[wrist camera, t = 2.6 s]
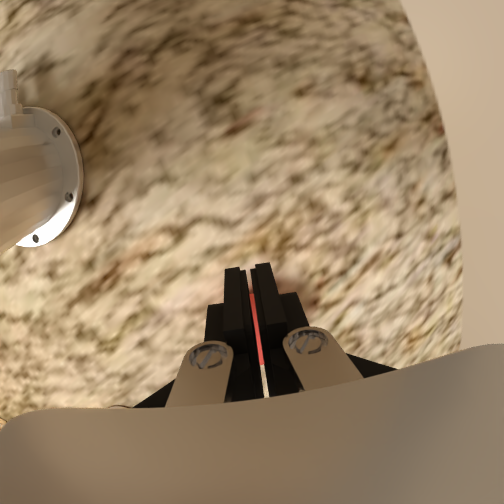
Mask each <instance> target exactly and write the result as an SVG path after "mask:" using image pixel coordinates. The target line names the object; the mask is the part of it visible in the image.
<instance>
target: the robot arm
mask: <svg viewBox="0 0 504 504" xmlns="http://www.w3.org/2000/svg"><path fill="white" fill-rule="evenodd" d="M17 90H18V88H17V71H16V70H7V71H3V72H1V73H0V255H1V254H3V253H4V252H5V251H7V250H8V249H10V248H11V247H12V246H14V245H15V244H16V245H18V246H23V247H38V246H42V245H45V244H47V243H49V242H50V241H52V240H54V239H55V238H57V237H58V236H59V235H60V234H62V233H63V232H64V230H65V229H66V228H67V227H68V226H69V225H70V223H71V221H72V220H73V218H74V216H75V214H76V212H77V209H78V207H79V204H80V201H81V196H82V190H83V176H84V172H83V163H82V157H81V153H80V149H79V146H78V143H77V141H76V139H75V137H74V135H73V133H72V131H71V130H70V128H69V127H68V126H67V124H66V123H65V122H64V121H63V120H62V119H61V118H60V117H59V116H58V115H56V114H55V113H53V112H51V111H49V110H47V109H43V108H39V107H22V104H20V103H18V101H17ZM60 130H61V133H59V131H60ZM72 194H73V197H72ZM255 267H256V268H254V269H250V272H251V279H252V286H253V293H254V300H255V307H256V314H257V321H258V327H259V334H260V340H261V347H262V353H263V360H264V366H265V372H266V379H267V385H268V391H269V398H264V393H263V385H262V377H261V370H260V362H259V354H258V347H257V339H256V332H255V326H254V319H253V313H252V307H251V301H250V295H249V288H248V282H247V276H246V270H241V271H240V268H239V267H235V268H228V269H225V279H224V303H220V304H212V305H208V309H207V318H206V328H205V338H204V342H203V343H199V344H197V345H195V346H193V347H192V348H191V349H190V350H188V351H187V353H186V354H185V356H184V358H183V361H182V364H181V366H180V369H179V371H178V374H177V377H176V379H174V380H173V381H171V382H170V383H169V384H167V385H166V386H164V387H163V388H161V389H160V390H158V391H157V392H155V393H154V394H152V395H151V396H149V397H148V398H146V399H145V400H143V401H142V402H140V403H139V404H137V405H136V406H134V407H133V408H48V409H41V410H35V411H31V412H27V413H24V414H21V415H18V416H16V417H14V418H12V419H11V420H9V421H8V422H7V423H6V424H5V425H4V426H3V427H2V429H1V430H0V504H504V344H488V345H482V346H476V347H471V348H468V349H464V350H460V351H456V352H453V353H450V354H447V355H444V356H440V357H437V358H434V359H431V360H427V361H424V362H421V363H418V364H414V365H411V366H408V367H405V368H401V369H395V368H392V367H389V366H385V365H382V364H379V363H376V362H372V361H369V360H366V359H363V358H360V357H356V356H353V355H350V354H347V353H345V352H344V351H343V349H342V348H341V347H340V345H339V344H338V343H337V341H336V340H335V339H334V337H333V336H332V335H331V334H330V333H329V332H328V331H327V330H325V329H322V328H319V327H310V326H309V324H308V321H307V318H306V316H305V313H304V311H303V308H302V305H301V303H300V300H299V298H298V295H297V293H296V292H293V293H287V294H280V295H279V293H278V290H277V286H276V283H275V279H274V276H273V272H272V269H271V265H270V262H268V263H261V264H255Z"/></svg>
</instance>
